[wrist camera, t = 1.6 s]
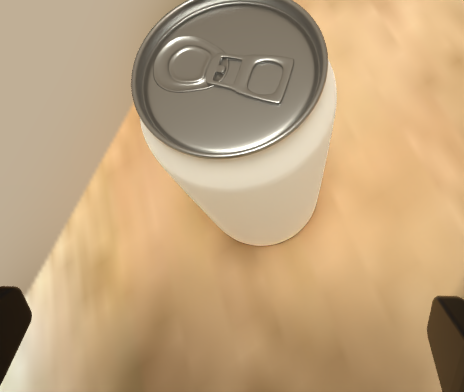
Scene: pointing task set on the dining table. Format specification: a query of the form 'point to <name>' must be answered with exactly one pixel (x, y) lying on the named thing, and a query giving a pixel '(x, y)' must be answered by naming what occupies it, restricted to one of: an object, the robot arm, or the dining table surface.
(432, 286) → the dining table surface
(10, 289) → the robot arm
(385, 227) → the dining table surface
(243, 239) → the can
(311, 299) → the dining table surface
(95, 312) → the dining table surface
